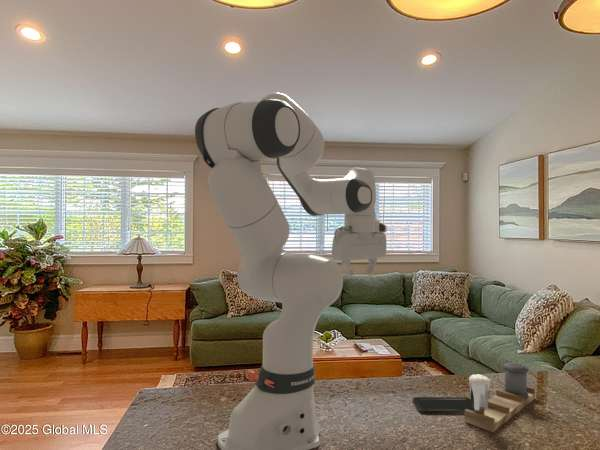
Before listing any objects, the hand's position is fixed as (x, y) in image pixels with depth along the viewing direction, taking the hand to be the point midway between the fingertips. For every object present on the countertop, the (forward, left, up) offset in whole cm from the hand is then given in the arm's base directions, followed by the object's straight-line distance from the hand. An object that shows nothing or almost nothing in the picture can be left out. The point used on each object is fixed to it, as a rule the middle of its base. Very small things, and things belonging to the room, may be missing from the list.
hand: (359, 275), depth 116 cm
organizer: (+14, -33, -31) cm, 48 cm away
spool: (+23, -33, -30) cm, 50 cm away
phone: (+5, -23, -32) cm, 40 cm away
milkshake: (+4, -33, -30) cm, 44 cm away
